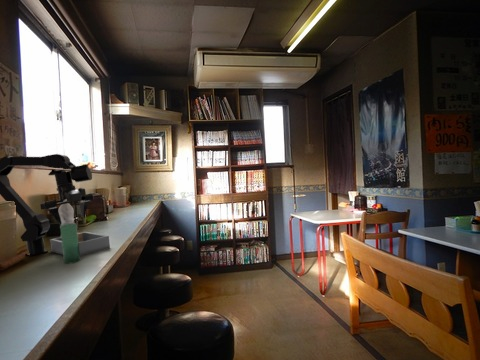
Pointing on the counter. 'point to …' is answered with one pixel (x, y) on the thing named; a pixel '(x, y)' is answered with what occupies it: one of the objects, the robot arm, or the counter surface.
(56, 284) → the counter surface
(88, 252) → the grey tote
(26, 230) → the robot arm
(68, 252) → the green tall cylinder
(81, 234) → the walnut block
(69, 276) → the counter surface
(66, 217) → the plastic bottle
